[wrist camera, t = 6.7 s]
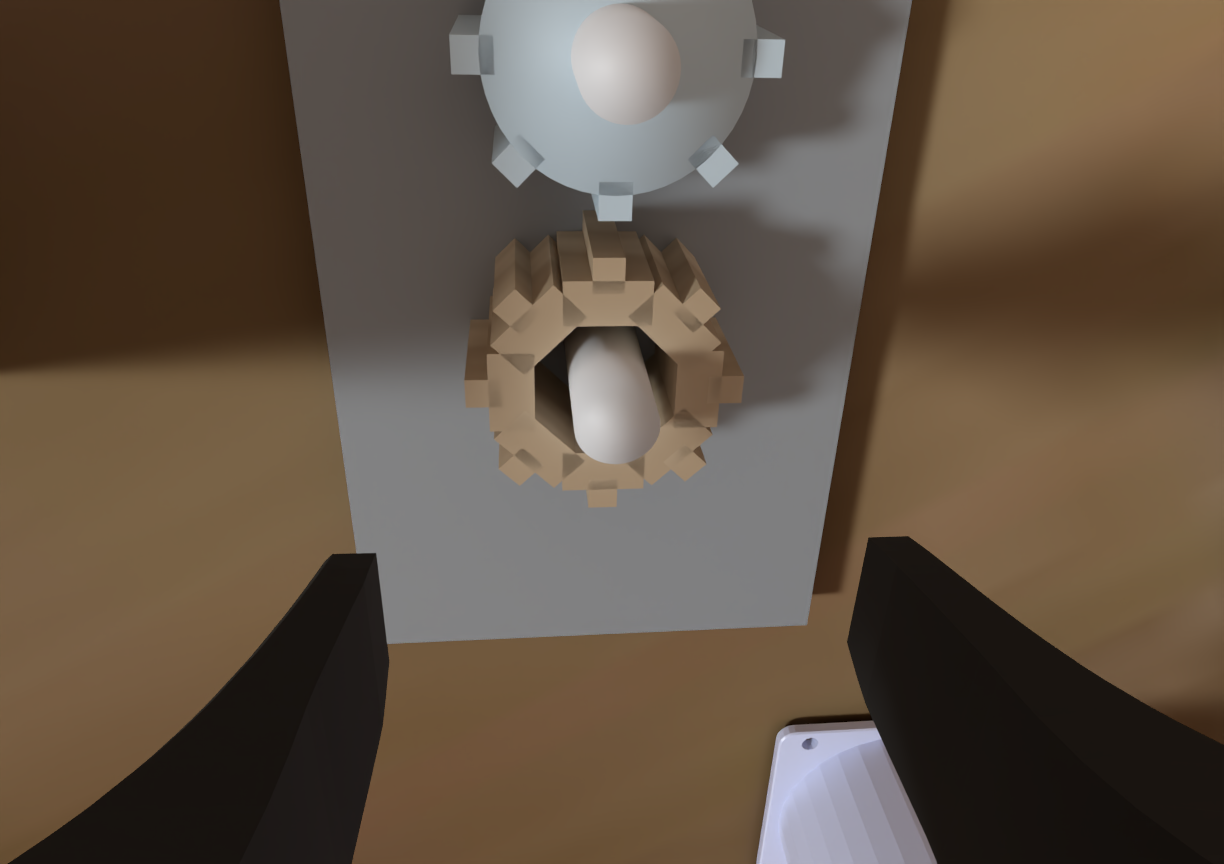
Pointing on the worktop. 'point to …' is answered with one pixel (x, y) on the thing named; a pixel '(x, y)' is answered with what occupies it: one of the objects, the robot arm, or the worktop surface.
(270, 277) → the worktop surface
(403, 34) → the gear board
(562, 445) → the loose gear
